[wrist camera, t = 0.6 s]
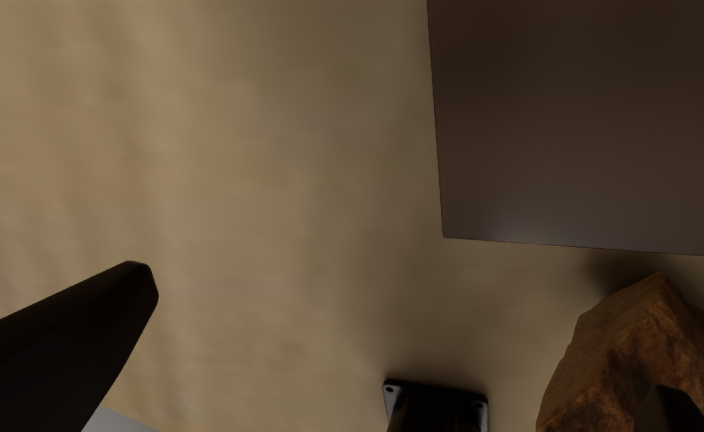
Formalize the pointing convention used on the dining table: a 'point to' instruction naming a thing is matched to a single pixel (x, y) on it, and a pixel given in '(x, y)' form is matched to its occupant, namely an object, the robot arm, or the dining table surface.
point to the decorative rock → (625, 359)
